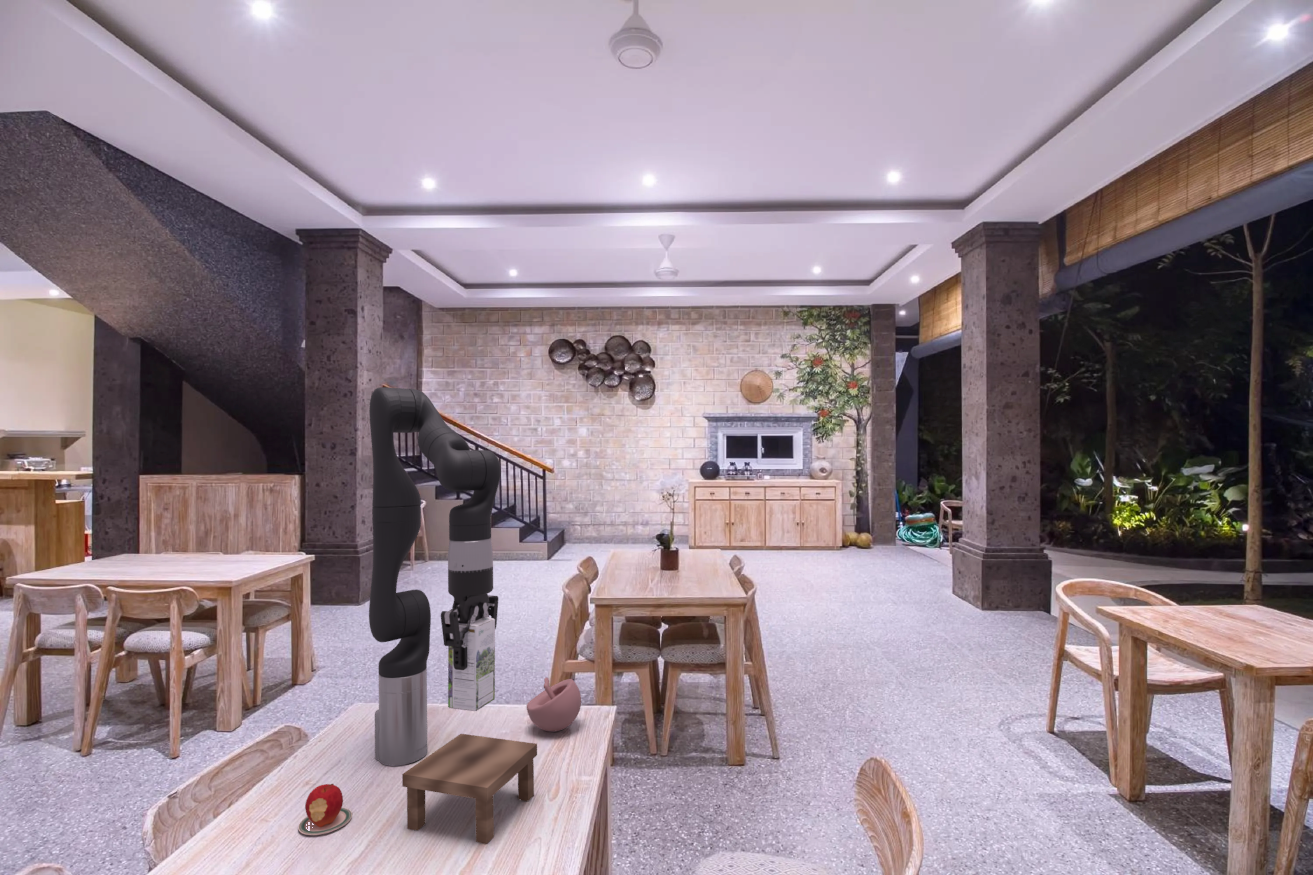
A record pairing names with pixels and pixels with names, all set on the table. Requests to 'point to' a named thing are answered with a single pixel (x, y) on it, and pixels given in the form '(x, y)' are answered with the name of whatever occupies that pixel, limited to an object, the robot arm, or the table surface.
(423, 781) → the walnut stool
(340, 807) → the apple
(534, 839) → the table surface
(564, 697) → the mortar and pestle
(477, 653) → the syrup box
